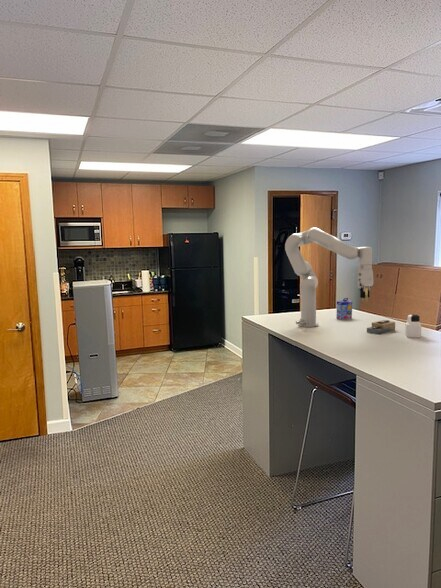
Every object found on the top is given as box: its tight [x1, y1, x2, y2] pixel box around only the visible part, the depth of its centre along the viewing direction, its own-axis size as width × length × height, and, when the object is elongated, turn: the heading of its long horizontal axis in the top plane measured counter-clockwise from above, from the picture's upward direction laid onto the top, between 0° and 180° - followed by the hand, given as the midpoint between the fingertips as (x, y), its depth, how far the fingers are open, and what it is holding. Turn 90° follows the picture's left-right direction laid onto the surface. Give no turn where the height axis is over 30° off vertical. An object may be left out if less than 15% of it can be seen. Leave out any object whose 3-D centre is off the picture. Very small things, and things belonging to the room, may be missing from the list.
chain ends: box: [366, 319, 396, 335], centre depth 250 cm, size 16×8×6 cm, turn 125°
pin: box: [361, 286, 369, 302], centre depth 257 cm, size 3×3×10 cm
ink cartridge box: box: [335, 297, 353, 321], centre depth 291 cm, size 10×6×14 cm, turn 115°
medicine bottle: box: [404, 314, 422, 339], centre depth 235 cm, size 7×7×12 cm
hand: (364, 297), depth 257 cm, fingers closed on pin, 3 cm apart
